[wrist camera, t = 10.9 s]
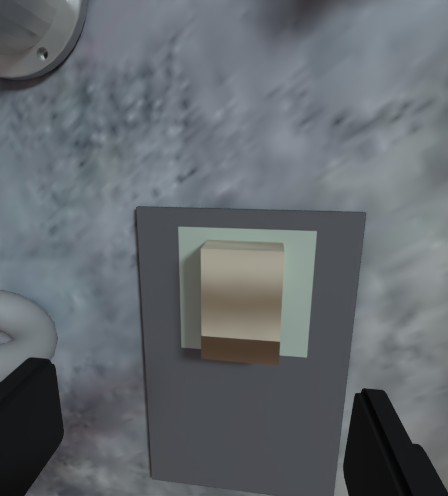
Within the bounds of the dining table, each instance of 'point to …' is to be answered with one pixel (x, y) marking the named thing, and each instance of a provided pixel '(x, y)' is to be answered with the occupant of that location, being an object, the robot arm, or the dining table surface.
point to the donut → (24, 332)
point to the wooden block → (241, 300)
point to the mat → (249, 374)
